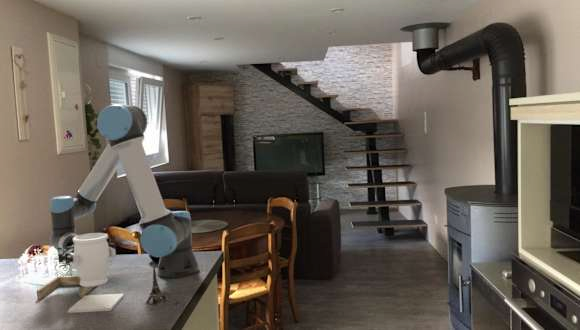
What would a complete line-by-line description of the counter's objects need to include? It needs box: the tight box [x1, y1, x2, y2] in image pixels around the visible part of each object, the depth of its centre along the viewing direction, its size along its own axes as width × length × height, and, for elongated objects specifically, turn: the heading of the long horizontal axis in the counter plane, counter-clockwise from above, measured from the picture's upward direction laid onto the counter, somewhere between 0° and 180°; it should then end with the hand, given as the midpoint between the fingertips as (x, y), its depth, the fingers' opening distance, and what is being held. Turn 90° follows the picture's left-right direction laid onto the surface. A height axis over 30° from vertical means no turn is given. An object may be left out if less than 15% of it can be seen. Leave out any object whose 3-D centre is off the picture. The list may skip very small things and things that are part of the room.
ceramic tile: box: [67, 293, 125, 314], centre depth 162 cm, size 13×13×1 cm
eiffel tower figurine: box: [137, 264, 181, 306], centre depth 161 cm, size 15×10×13 cm
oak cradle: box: [36, 275, 96, 300], centre depth 176 cm, size 15×15×3 cm
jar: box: [73, 232, 110, 287], centre depth 160 cm, size 11×10×15 cm
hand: (96, 257), depth 157 cm, fingers closed on jar, 10 cm apart
